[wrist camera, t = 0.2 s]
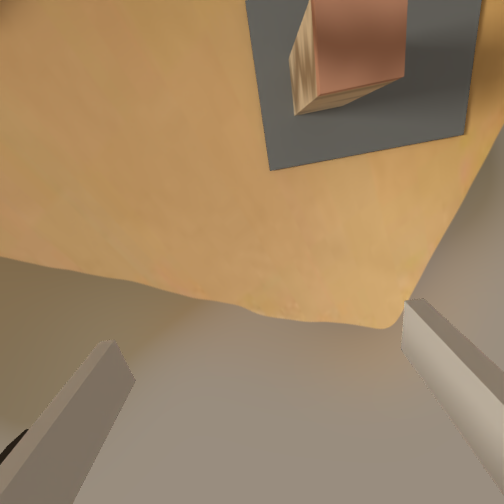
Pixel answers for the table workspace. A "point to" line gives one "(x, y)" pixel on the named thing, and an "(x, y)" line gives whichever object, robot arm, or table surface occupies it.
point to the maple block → (346, 51)
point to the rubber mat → (377, 102)
